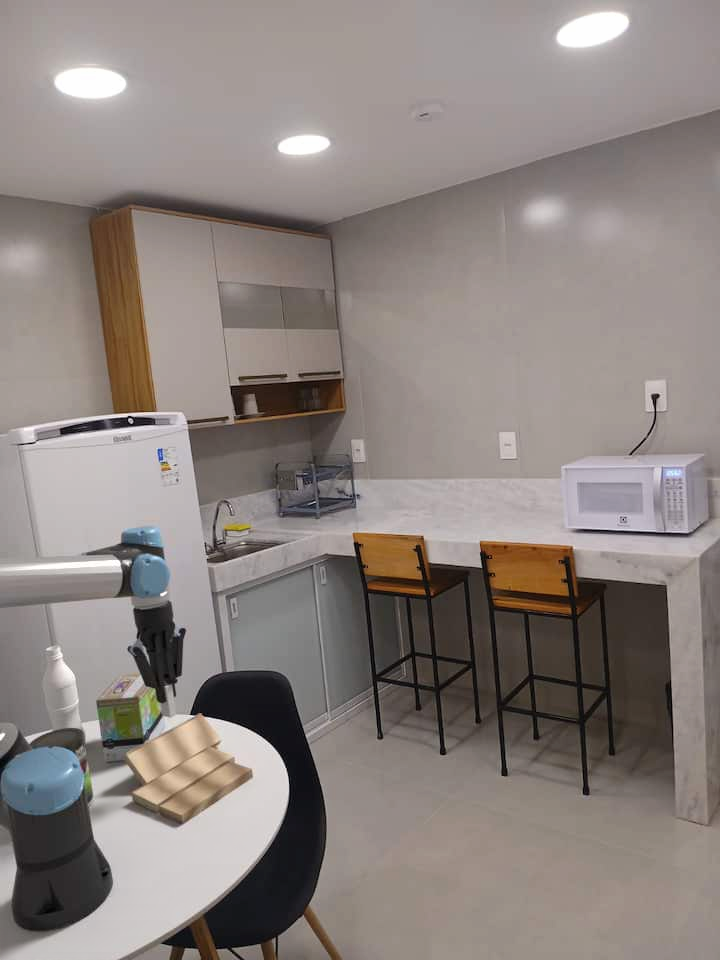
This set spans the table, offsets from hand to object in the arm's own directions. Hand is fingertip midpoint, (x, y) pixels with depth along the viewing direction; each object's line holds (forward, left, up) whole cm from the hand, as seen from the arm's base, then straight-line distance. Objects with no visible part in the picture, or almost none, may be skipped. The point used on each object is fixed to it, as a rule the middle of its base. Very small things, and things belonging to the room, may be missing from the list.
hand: (169, 715), depth 151 cm
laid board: (-1, -10, -14) cm, 17 cm away
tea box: (+6, +23, -15) cm, 28 cm away
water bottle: (-3, +36, -15) cm, 39 cm away
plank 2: (0, -2, -14) cm, 14 cm away
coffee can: (-17, +14, -15) cm, 26 cm away
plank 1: (+4, +7, -11) cm, 14 cm away
